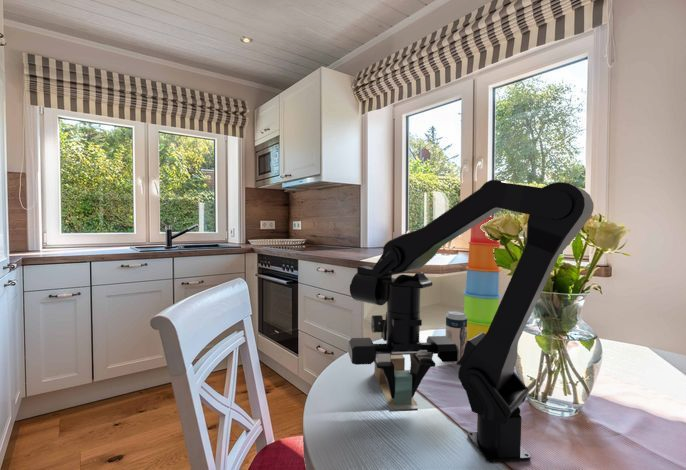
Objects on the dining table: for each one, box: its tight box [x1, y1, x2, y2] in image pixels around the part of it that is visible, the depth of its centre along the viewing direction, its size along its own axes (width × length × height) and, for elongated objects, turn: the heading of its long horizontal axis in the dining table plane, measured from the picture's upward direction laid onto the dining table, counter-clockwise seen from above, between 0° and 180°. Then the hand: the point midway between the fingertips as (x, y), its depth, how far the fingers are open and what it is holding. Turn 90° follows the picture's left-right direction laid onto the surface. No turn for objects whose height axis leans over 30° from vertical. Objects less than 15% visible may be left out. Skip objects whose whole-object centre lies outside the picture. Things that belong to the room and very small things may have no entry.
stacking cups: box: [462, 216, 502, 341], centre depth 95 cm, size 10×10×35 cm
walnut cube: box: [373, 355, 406, 385], centre depth 74 cm, size 5×5×5 cm
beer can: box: [445, 310, 467, 364], centre depth 84 cm, size 5×5×12 cm
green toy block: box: [373, 370, 418, 413], centre depth 70 cm, size 14×5×6 cm, turn 6°
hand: (401, 396), depth 64 cm, fingers closed on green toy block, 3 cm apart
